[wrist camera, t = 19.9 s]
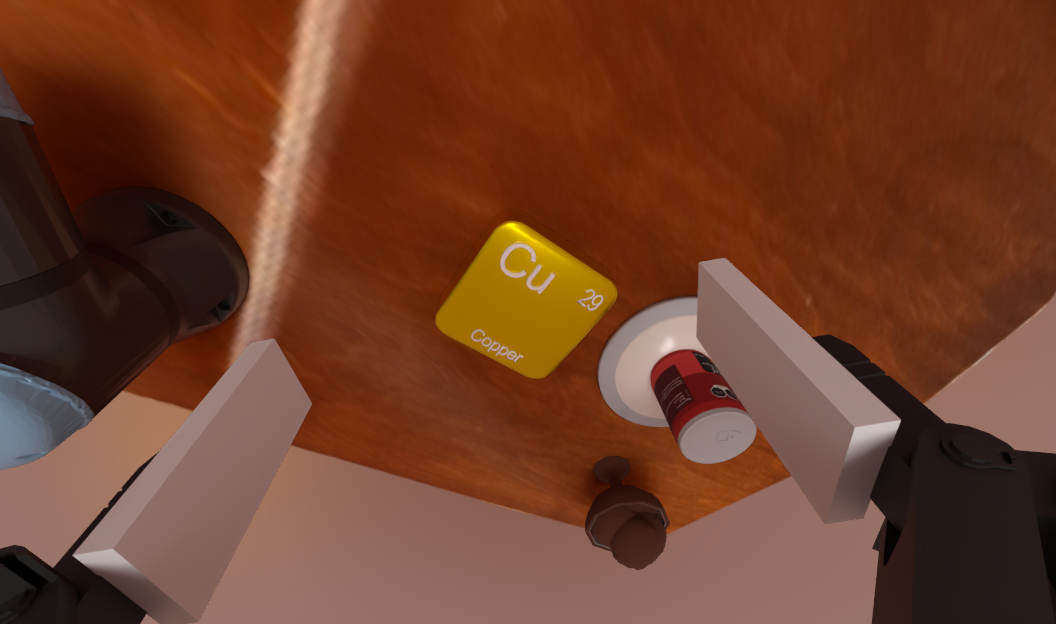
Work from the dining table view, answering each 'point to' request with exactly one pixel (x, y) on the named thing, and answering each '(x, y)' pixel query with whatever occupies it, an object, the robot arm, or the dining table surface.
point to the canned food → (701, 407)
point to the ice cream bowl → (626, 518)
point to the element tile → (524, 296)
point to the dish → (645, 356)
